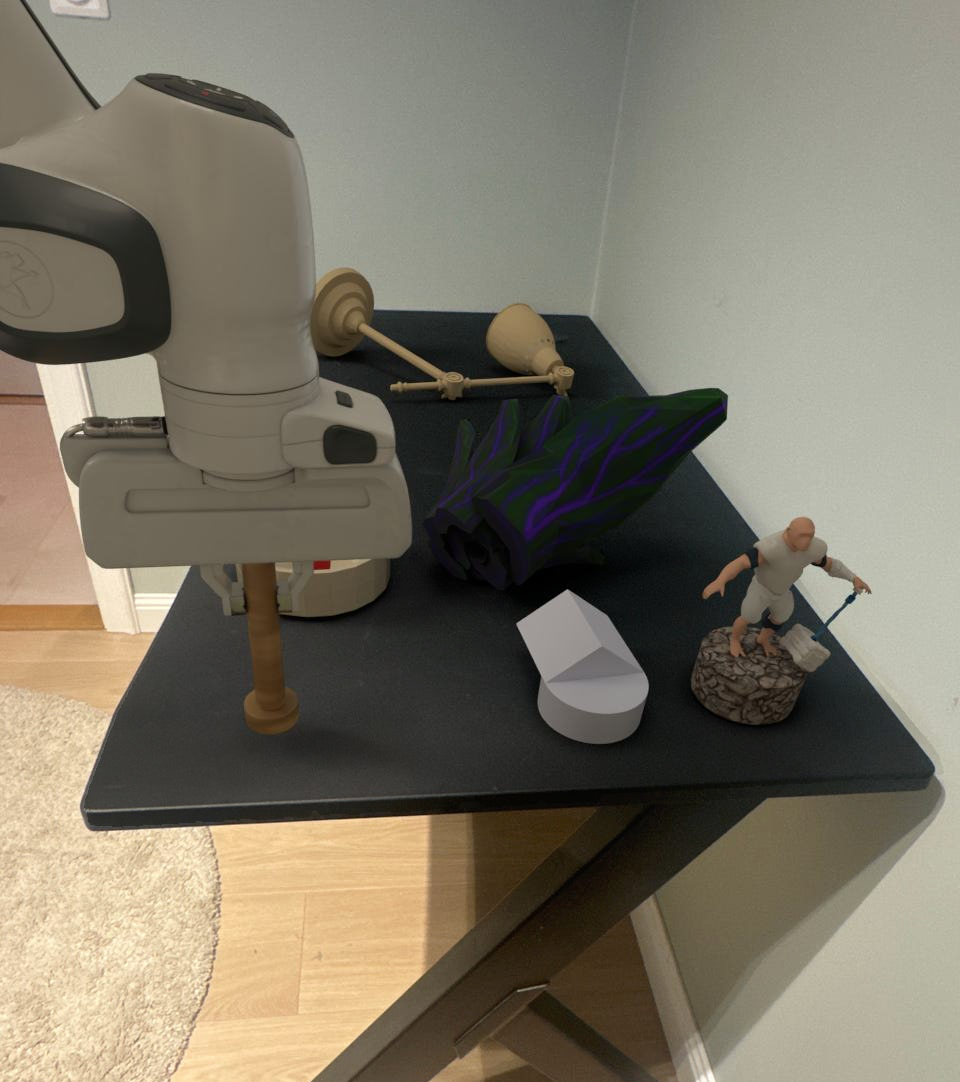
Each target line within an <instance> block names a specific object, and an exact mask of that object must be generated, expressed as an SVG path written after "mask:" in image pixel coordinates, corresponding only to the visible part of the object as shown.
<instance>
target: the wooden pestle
mask: <svg viewBox="0 0 960 1082" xmlns="http://www.w3.org/2000/svg"><path fill="white" fill-rule="evenodd" d="M241 569H242V578H243V587H244V594H245V604H246V615H245V616H246V623H247V631H248V632H247V633H248V641H249V651H250V659H251V669H252V677H253V686H254V689H253V690H252V691H250V692H249V693H248V694H247V696H245V699H244V701H243V710H244V716H245V723H246V725H247V726H248V727H249V729H250V730H252V731H253V732H255V733H257V734H261V735H277V734H281V733H284V732H286V731H289V730H291V729H292V728H293V727H294V726H295V725H296V724H297V722H298V720H299V717H300V710H299V697H298V696H297V694H296V692H295V691H294V690H292V688H290V687H288V686H286V684H285V683H286V682H285V671H284V658H283V646H282V635H281V632H282V631H281V622H280V621H281V619H280V614H279V613H278V603H277V581H276V568H275V563H252V564H241Z"/></svg>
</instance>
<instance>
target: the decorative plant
mask: <svg viewBox="0 0 960 1082" xmlns="http://www.w3.org/2000/svg"><path fill="white" fill-rule="evenodd" d="M728 402H729V394H727V393H726V392H725V391H723V390H722V389H720V388H719V387H704V388H693V389H686V390H682V391H678V392H673V393H669V394H663V395H662V394H661V395H660V394H659V395H656V394H655V395H621V396H620V395H619V396H615V397H614V398H611V399H610V400H607V401H605V402H604V403H602V404H599V405H598V406H595V407H593V408H591V409H589V410H587V411H585V412H583V413H581V414H579V415H577V416H576V417H575V418H574V419H573V420H571V400H570V397H569V395H567V396H564V395H559V394H552V395H551V397H550V398H549V399H548V401H547V402H546V404H545V405H544V406H543V408H542V409H541V411H540V412H539V413H538V414H537V416H536V417H535V418H534V419H533V420H532V421H531V422H530V423H528V424H527V425H525V426H524V427H522V424H523V423H522V421H523V420H522V419H523V418H522V413H521V409H520V405H519V398H512V399H504V400H502V401H501V404H500V407H499V410H498V412H497V413H498V414H497V415H496V417H495V419H494V420H493V421H492V424H491V426H490V428H489V430H488V431H487V433H486V434H485V436H484V437H483V439H482V440H481V441H480V443H479V444H478V446H477V447H476V449H475V445H474V441H475V437H476V432H475V429H474V425H473V424H472V423H471V422H470V421H471V419H470V418H465V419H462V420H459V423H458V425H457V430H456V431H457V432H456V442H455V446H454V447H455V448H454V454H453V459H452V462H451V466H450V469H449V473H448V476H447V480H446V483H445V487H444V489H442V492H441V493H440V495H439V498H438V499H437V501H436V502H435V504H434V505H433V506H432V507H431V509H430V511H428V513H427V514H426V516H425V517H424V519H423V522H422V525H423V528H424V529H425V531H426V534H427V536H428V538H429V540H428V547H429V550H430V552H431V554H432V556H433V557H434V558H435V559H436V560H437V561H438V562H439V563H440V564H441V565H442V566H443V567H444V568H445V569H446V570H447V571H448V572H449V573H450V574H451V575H452V576H453V577H454V578H456V579H461V580H463V581H468V580H470V579H471V578H472V579H473V580H485V581H486V582H488V583H489V584H490V585H491V586H493V587H494V588H495V589H496V590H498V591H505V590H506V589H507V588H509V587H510V586H511V585H512V584H513V583H515V585H516V586H521V585H522V584H523V583H525V582H526V581H527V580H528V579H529V578H530V577H532V576H533V575H534V574H535V573H536V572H538V571H540V570H544V569H547V568H552V567H554V566H557V565H565V564H592V565H599V566H603V565H604V560H605V557H606V556H605V553H604V550H603V549H601V550H598V549H597V548H596V547H595V546H593V545H592V544H591V543H589V541H591V540H593V539H595V538H597V537H599V536H601V535H603V534H606V533H608V532H609V531H611V530H614V529H615V528H618V527H619V526H620V525H622V524H623V523H625V521H626V520H628V519H629V518H630V517H632V515H634V514H635V513H636V512H637V511H638V510H639V509H641V508H642V507H644V506H645V505H646V504H647V503H649V502H650V501H651V500H652V499H653V497H654V496H655V495H656V494H657V492H659V491H660V489H661V488H662V487H663V486H664V484H666V482H667V481H668V480H669V479H670V477H671V476H672V475H673V474H674V472H675V471H676V470H677V469H678V467H680V465H681V464H682V463H683V462H684V460H686V458H687V457H688V456H689V454H690V453H691V452H693V451H694V450H695V449H696V448H697V447H699V445H701V444H702V443H703V442H704V441H705V440H707V438H709V437H710V436H711V435H712V434H714V432H715V431H717V430H718V429H719V428H720V427H722V425H723V424H724V423H725V422H726V421H727V420H728V407H729V406H728V405H729V403H728Z"/></svg>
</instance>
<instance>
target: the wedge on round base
mask: <svg viewBox="0 0 960 1082" xmlns="http://www.w3.org/2000/svg"><path fill="white" fill-rule="evenodd" d="M516 627H517V628H518V631H519V632H520V635H521V637H522V639H523V641H524V643H525V645H526V647H527V649H528V651H529V654H530V656H531V658H532V659H533V662H534V664H535V666H536V668H537V670H538V672H539V674H540V676H541V677H540V682H539V689H538V694H537V709H538V712H539V715H540V716H541V718H542V719H543V721H544V722H545V723H546V724H547V725H548V726H549V727H550V728H552V730H554V731H555V732H557V733H559V734H560V735H562V736H563V737H566V738H568V739H571V740H574V741H577V742H582V743H584V744H585V743H586V744H592V745H593V744H594V745H605V744H613V743H616V742H617V743H618V742H620V741H622V740H625V739H626V738H628V737H631V735H633V734H634V733H635V732H636V730H638V727H639V725H640V723H641V720H642V714H643V712H644V707H645V706H646V701H647V697H648V693H649V687H650V685H649V679H648V677H647V675H646V673H645V671H644V669H643V668H642V667H641V664H640V663H639V662H638V660H637V659H636V657H635V656H634V654H633V652H632V651H631V650H630V648H629V647H628V646H627V644H626V641H624V639H623V637H622V636H621V634H620V633H619V631H618V630H617V628H616V627H615V625H614V623H613V622H612V621H611V619H610V617H609V616H608V614H606V613H604V612H602V611H601V610H599V609H598V608H597V607H595V606H593V605H592V604H591V603H589V602H588V601H586V600H584V598H583V597H580V596H579V595H578V594H576V593H575V592H572V591H571V590H569V589H566V590H564V591H563V592H560V594H558V595H557V596H555V597H554V598H552V599H551V600H549V601H547V602H546V603H545V604H543V605H542V606H540V607H539V608H537V609H536V610H535V611H533V612H531V613H530V614H528V615H527V616H526V617H524V618H522V619H521V620H519V621H518V622H516Z"/></svg>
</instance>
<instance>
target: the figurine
mask: <svg viewBox="0 0 960 1082" xmlns="http://www.w3.org/2000/svg"><path fill="white" fill-rule="evenodd" d="M815 534H816V526H815V523H814V521H813V520H812V518H810V517H808V516H799V517H795V518H793V519H792V520H791V522H790V523H789V525H788V526H787V527H786V528H785V529H781V530H778V531H776V532H775V533H772V534H770V535H768V536H766V537H764V538H762V539H760V540H758V541H757V542H755V543H754V544H753V546H752V547H750V548H748V549H747V550H745V551H744V552H743V553H742V555H740V556H739V557H738V558H735V559H734V560H733V561H731V562H729V563H728V564H727V565H726V566H725V567H723V569H722V570H721V572H720V573H719V575H718V577H717V578H716V579H715V580H714V581H712V582H711V583H709V584H708V585H707V586H706V587H705V588H704V590H703V592H702V595H701V596H702V598H703V600H707V599H708V598H709V597H710V596H712V595H714V594H715V593H717V592H719V593H720V596H721V597H722V598H723V597H724V595H725V594H724V593H725V586H726V585H725V584H727V582H729V581H731V580H734V579H735V578H737V576H738V574H739V573H741V572H742V571H744V570H745V569H750V570H753V569H754V575H753V576H752V578H751V582H750V584H749V585H748V587H747V591H746V596H745V597H744V598H743V599H742V602H741V606H740V607H741V608H740V616H738V617H737V618H736V619H735V621H733V625H732V626H725V627H720V628H719V627H718V628H717V629H716V628H715V629H714V630H711V631H710V632H708V633H707V634H706V635H705V636H704V638H703V639H702V641H701V644H700V647H699V651H698V654H697V658H696V660H695V663H694V667H693V670H692V672H691V677H690V688H691V691H692V693H693V695H694V697H695V699H697V700H698V702H699V703H700V704H701V705H702V706H703V707H705V708H706V709H707V710H708V711H710V712H711V713H713V714H715V715H716V716H718V717H721V718H723V719H725V720H728V721H730V722H734V723H737V724H743V725H750V726H763V725H771V724H775V723H779V722H781V721H783V720H784V719H786V718H787V717H788V716H789V715H790V714H791V713H792V712H793V711H792V710H793V709H794V706H795V704H796V703H797V702H796V701H797V700H798V697H799V695H800V692H801V690H802V688H803V685H804V683H805V682H806V681H805V680H806V678H807V676H808V673H813V672H815V671H816V670H817V669H818V667H821V666H822V665H823V664H824V663H825V661H827V659H829V658H830V657H831V652H830V650H829V649H827V648H825V647H824V646H823V645H822V644H821V643H820V642H819V641H818V640H819V637H820V636H821V635H822V634H823V632H825V631H826V630H827V628H829V626H830V624H831V623H832V622H833V621H834V620H836V618H837V617H838V616H839V614H841V612H842V611H844V609H846V608H847V606H848V605H852V604H853V602H855V600H856V599H857V595H859V596H861V594H863V592H864V593H865V594H866V593H867V595H872V594H873V593H872V590H871V588H870V587H869V585H868V583H866V582H865V581H863V580H862V578H860V577H859V576H857V574H856V573H854V572H853V571H852V570H851V569H850V568H849V567H847V566H846V565H845V564H844V563H843V561H841V560H839V559H837V558H833V557H831V556H828V555H827V553H828V547H829V546H828V543H827V542H826V541H825V540H824V539H822V538H819V537H817V536H815ZM809 565H812V566H813V567H816V568H821V569H822V570H823V571H824V572H825V573H826V574H827V575H828V577H831V578H837V579H841V580H844V581H845V580H846V581H848V582H849V583H852V585H853V588H852V591H853V592H852V594H849V595H847V597H846V598H845V599H844V603H842V605H841V606H840V607H839V608H838V609H837V610H836V611H834V613H833V614H832V615H831V616H830V617H829V618H828V619H827V620H826V621H825V622H824V624H823V625H822V626H821V627H820V628H818V630H817V631H816V632H815V633H814V632H813V631H812V630H811V629H809V628H807V626H803V625H802V624H800V623H796V624H794V625H793V626H792V627H791V629H789V630H788V631H786V633H785V635H783V636H782V637H781V636H780V635H778V634H775V633H777V632H780V630H781V628H782V627H783V624H784V622H785V623H786V621H788V620H789V618H790V617H791V616H792V614H793V612H794V609H795V599H794V595H793V591H791V590H790V589H791V588H792V586H793V584H795V582H797V581H798V580H799V579H800V578H801V577H802V575H803V573H804V569H805V568H806V567H808V566H809ZM767 609H768V610H769V613H767V614H766V615H765V616H764V617H763V616H762V614H763V613H764V611H765V610H767ZM762 617H763V619H762ZM760 621H761V626H762V628H756V627H750V626H748V625H749V624H752V625H753V624H757V623H759V622H760Z"/></svg>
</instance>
